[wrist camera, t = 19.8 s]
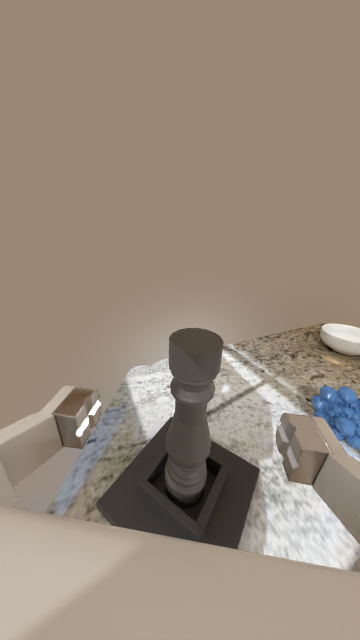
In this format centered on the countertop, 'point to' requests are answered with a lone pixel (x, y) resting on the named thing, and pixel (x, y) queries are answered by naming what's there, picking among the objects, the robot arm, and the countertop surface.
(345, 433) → the grapes
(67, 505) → the countertop surface
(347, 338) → the cereal bowl
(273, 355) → the countertop surface
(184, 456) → the candle holder
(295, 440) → the robot arm
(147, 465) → the display stand
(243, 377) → the countertop surface
